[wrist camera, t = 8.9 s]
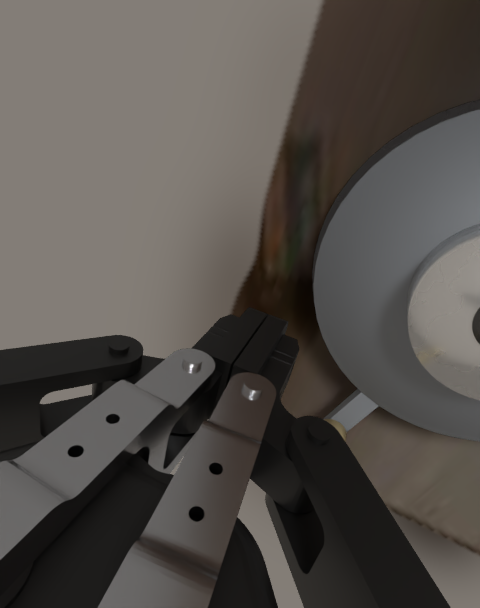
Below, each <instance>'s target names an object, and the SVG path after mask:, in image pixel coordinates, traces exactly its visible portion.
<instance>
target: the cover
mask: <svg viewBox="0 0 480 608" xmlns="http://www.w3.org/2000/svg"><path fill="white" fill-rule="evenodd" d="M407 318H408V331H409V338H410V341H411V345H412V348H413V350H414V352H415V354H416V356H417V358H418V359H419V361H420V363H421V364H422V365H423V367H424V368H425V369H426V370H427V371H428V372H429V373H430V374H431V375H432V376H433V377H434V378H435V379H436V380H437V381H439V382H440V383H442V384H443V385H445V386H446V387H448V388H450V389H451V390H453V391H455V392H457V393H459V394H462V395H464V396H467V397H469V398H473V399H476V400H479V401H480V224H477V225H474V226H471V227H469V228H466V229H463V230H461V231H459V232H457V233H456V234H454V235H452V236H450V237H449V238H447V239H446V240H444V241H443V242H441V243H440V244H439V245H438V246H436V247H435V248H434V249H433V250H432V251H431V252H430V253H429V254H428V255H427V256H426V257H425V258H424V260H423V261H422V262H421V264H420V265H419V267H418V268H417V270H416V272H415V274H414V276H413V278H412V281H411V283H410V286H409V291H408V296H407Z"/></svg>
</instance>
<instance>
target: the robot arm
mask: <svg viewBox="0 0 480 608" xmlns="http://www.w3.org/2000/svg"><path fill="white" fill-rule="evenodd" d="M287 326H288V321H285V320H282V319H280V318H277V317H274V316H272V315H268V314H266V313H264V312H261V311H258V310H256V309H253V308H250V307H249V308H248V309H247V310H246V311H245V312H244V313H243V314H242V316H241V317H240V318H239V317H236V316H234V315H228V316H225V317H222V318H220V319H219V320H218V321H217V322H216V323H215V324H214V326H213V327H211V328H210V330H209V331H208V332H207V333H206V334H205V335H204V336H203V337H202V338H201V339H200V340H199V341H198V342H197V343H196V344H195V346H193V347H192V348H191V349H188V348H187V349H180V350H177V351H175V352H173V353H172V354H171V355H170V356H168V357H167V358H166V359H160V358H155V357H149V356H143V347H142V345H141V343H140V342H138V341H137V340H136V339H134V338H131V337H128V336H122V335H113V336H105V337H97V338H89V339H82V340H74V341H66V342H59V343H51V344H45V345H36V346H29V347H21V348H13V349H6V350H0V608H278V606H277V603H276V599H275V596H274V592H273V589H272V585H271V582H270V578H269V575H268V572H267V568H266V565H265V562H264V559H263V556H262V553H261V551H260V549H259V547H258V545H257V543H256V541H255V539H254V538H253V536H252V534H251V533H250V532H249V530H248V529H247V528H246V526H245V525H244V524H243V523H242V522H241V521H240V519H238V518H237V515H238V512H239V509H240V506H241V503H242V500H243V497H244V494H245V491H246V488H247V484H248V482H249V479H251V480H252V481H253V482H255V483H256V484H257V485H258V486H259V487H260V488H261V489H262V490H263V491H265V492H266V497H265V500H266V505H267V508H268V511H269V514H270V516H271V519H272V522H273V524H274V527H275V530H276V533H277V535H278V538H279V541H280V544H281V546H282V549H283V551H284V554H285V557H286V560H287V563H288V565H289V568H290V571H291V573H292V576H293V578H294V581H295V584H296V587H297V590H298V592H299V595H300V598H301V600H302V603H303V606H304V608H450V606H449V604H448V603H447V601H446V600H445V598H444V597H443V595H442V593H441V592H440V590H439V589H438V587H437V586H436V584H435V582H434V581H433V579H432V578H431V576H430V575H429V573H428V571H427V570H426V568H425V567H424V565H423V563H422V562H421V560H420V559H419V557H418V556H417V554H416V552H415V551H414V549H413V548H412V546H411V545H410V543H409V541H408V540H407V538H406V537H405V535H404V534H403V532H402V530H401V529H400V527H399V526H398V524H397V523H396V521H395V519H394V518H393V516H392V515H391V513H390V511H389V510H388V508H387V507H386V505H385V504H384V502H383V500H382V499H381V497H380V496H379V494H378V493H377V491H376V489H375V488H374V486H373V485H372V483H371V482H370V480H369V478H368V477H367V475H366V474H365V472H364V471H363V469H362V467H361V466H360V464H359V463H358V461H357V460H356V458H355V456H354V455H353V453H352V452H351V450H350V448H349V447H348V445H347V444H346V442H345V441H344V439H343V437H342V436H341V434H340V433H339V432H338V430H337V429H336V428H335V427H334V426H333V425H331V424H330V423H328V422H327V421H325V420H323V419H320V418H318V417H313V416H303V417H300V418H298V419H296V418H295V417H294V416H292V415H291V414H290V413H289V412H288V411H287V410H286V409H285V408H284V406H283V405H282V403H281V400H280V399H281V397H282V394H283V392H284V390H285V388H286V385H287V383H288V380H289V377H290V375H291V372H292V369H293V366H294V363H295V360H296V357H297V355H298V352H299V346H298V342H297V340H296V339H294V338H291V337H289V336H286V335H285V332H286V329H287ZM89 384H92V395H88V396H84V397H79V398H74V399H69V400H64V401H60V402H55V403H50V404H39V403H40V400H41V399H42V397H44V396H45V395H46V394H48V393H50V392H53V391H58V390H63V389H69V388H74V387H79V386H84V385H89ZM207 419H209V421H207ZM184 455H185V456H184ZM183 456H184V458H183ZM182 458H183V460H182V461H181V463H180V465H179V467H178V469H177V471H176V473H175V474H174V475H171V474H170V473H171V472H172V470H173V469H174V468H175V466H176V465H177V464H178V463H179V462H180V460H181V459H182Z"/></svg>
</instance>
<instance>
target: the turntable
mask: <svg viewBox="0 0 480 608" xmlns="http://www.w3.org/2000/svg"><path fill="white" fill-rule="evenodd" d="M477 224H480V110H475V111H471V112H468V113H465V114H462V115H459V116H456V117H454V118H451V119H448V120H445V121H442V122H440V123H438V124H436V125H434V126H432V127H430V128H428V129H426V130H424V131H422V132H420V133H418V134H416V135H414V136H412V137H411V138H409V139H408V140H406V141H405V142H403V143H402V144H400V145H398V146H397V147H395V148H394V149H392V150H391V151H390V152H389V153H388V154H386V155H385V156H384V157H383V158H382V159H380V160H379V161H378V162H377V163H375V164H374V165H373V166H372V167H371V168H370V169H369V170H368V171H367V172H366V173H365V175H364V176H363V177H362V178H361V179H360V180H359V181H358V182H357V183H356V184H355V186H354V187H353V188H352V189H351V191H350V192H349V193H348V195H347V196H346V197H345V199H344V200H343V201H342V203H341V204H340V206H339V207H338V209H337V211H336V213H335V214H334V216H333V218H332V220H331V221H330V223H329V225H328V228H327V230H326V233H325V235H324V238H323V240H322V242H321V245H320V249H319V253H318V257H317V261H316V266H315V275H314V304H315V310H316V316H317V321H318V324H319V327H320V331H321V334H322V337H323V339H324V341H325V343H326V345H327V348H328V350H329V352H330V354H331V355H332V357H333V358H334V360H335V362H336V363H337V365H338V366H339V368H340V369H341V370H342V372H343V373H344V374H345V375H346V376H347V378H348V379H349V380H350V381H351V382H352V383H353V384H354V385H355V386H356V387H357V388H358V389H357V390H356V391H354V392H353V393H352V394H351V395H350V396H349V397H348V398H346V399H345V400H344V401H343V402H342V403H341V404H339V405H338V406H337V407H336V408H335V409H334V410H333V411H331V412H330V413H329V414H328V415H327V416H326V417H325V418H323V420H325V421H327V422H328V423H330V424H331V425H333V426H334V427H335V428H336V429H337V430H338V432H339V433H340V434H341V436H342V437H343V439H344V441H346V435H347V433H346V432H347V431H348V430H350V429H351V428H352V427H353V426H355V425H356V424H357V423H358V422H360V421H361V420H362V419H363V418H365V417H366V416H367V415H368V414H369V413H371V412H372V411H373V410H374V409H376V408H377V407H378V406H380V407H381V408H383V409H385V410H386V411H388V412H390V413H391V414H393V415H395V416H396V417H398V418H401V419H403V420H405V421H407V422H409V423H411V424H413V425H416V426H418V427H421V428H424V429H427V430H430V431H432V432H435V433H439V434H443V435H447V436H451V437H455V438H460V439H467V440H473V441H480V401H479V400H476V399H473V398H469V397H467V396H464V395H462V394H459V393H457V392H455V391H453V390H451V389H450V388H448V387H446V386H445V385H443V384H442V383H440V382H439V381H437V380H436V379H435V378H434V377H433V376H432V375H431V374H430V373H429V372H428V371H427V370H426V369H425V368H424V367H423V365H422V364H421V363H420V361H419V359H418V358H417V356H416V354H415V352H414V350H413V348H412V345H411V341H410V338H409V331H408V318H407V296H408V291H409V286H410V283H411V281H412V278H413V276H414V274H415V272H416V270H417V268H418V267H419V265H420V264H421V262H422V261H423V260H424V258H425V257H426V256H427V255H428V254H429V253H430V252H431V251H432V250H433V249H434V248H435V247H436V246H438V245H439V244H440V243H441V242H443V241H444V240H446V239H447V238H449V237H450V236H452V235H454V234H456V233H457V232H459V231H461V230H463V229H466V228H469V227H471V226H474V225H477Z"/></svg>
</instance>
